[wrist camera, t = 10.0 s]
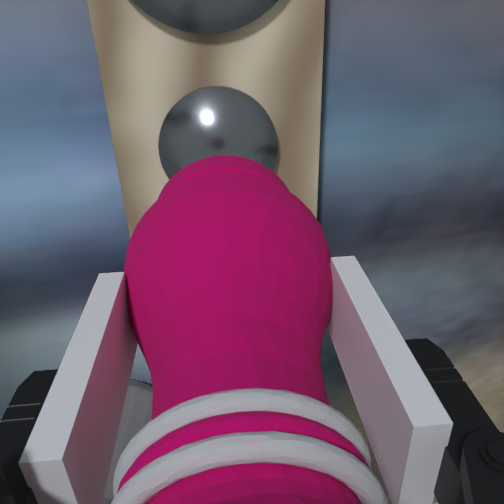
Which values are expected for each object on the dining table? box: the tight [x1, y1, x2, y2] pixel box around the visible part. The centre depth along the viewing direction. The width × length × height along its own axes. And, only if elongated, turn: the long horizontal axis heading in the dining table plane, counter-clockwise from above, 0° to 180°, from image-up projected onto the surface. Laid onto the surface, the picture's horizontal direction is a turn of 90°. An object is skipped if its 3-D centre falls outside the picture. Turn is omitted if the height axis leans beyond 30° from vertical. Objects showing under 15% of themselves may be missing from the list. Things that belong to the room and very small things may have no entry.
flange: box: [158, 86, 278, 180], centre depth 30 cm, size 8×8×1 cm
